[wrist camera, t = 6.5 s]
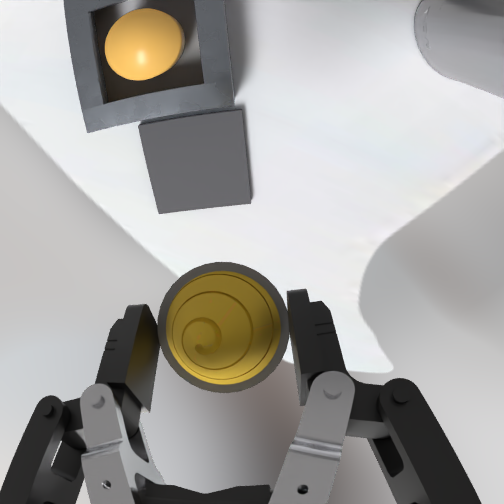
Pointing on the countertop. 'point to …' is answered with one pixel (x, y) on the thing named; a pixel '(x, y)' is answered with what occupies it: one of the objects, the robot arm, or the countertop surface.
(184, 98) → the grey open box
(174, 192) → the rest mat
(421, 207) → the countertop surface
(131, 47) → the button
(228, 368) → the ridged yellow cone
